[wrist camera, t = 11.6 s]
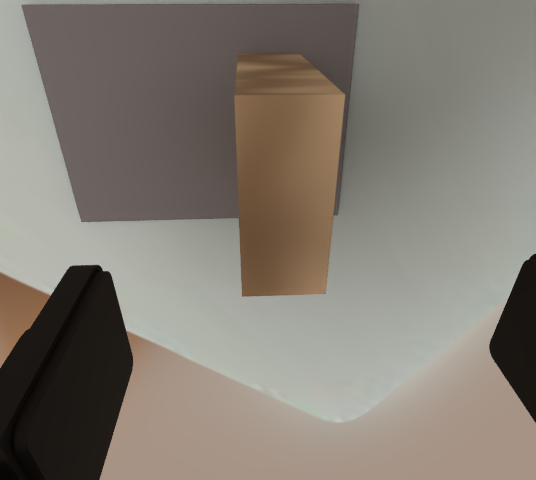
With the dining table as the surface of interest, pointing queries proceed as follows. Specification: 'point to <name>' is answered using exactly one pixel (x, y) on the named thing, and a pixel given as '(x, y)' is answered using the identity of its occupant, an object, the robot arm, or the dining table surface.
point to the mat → (169, 96)
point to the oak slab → (285, 172)
